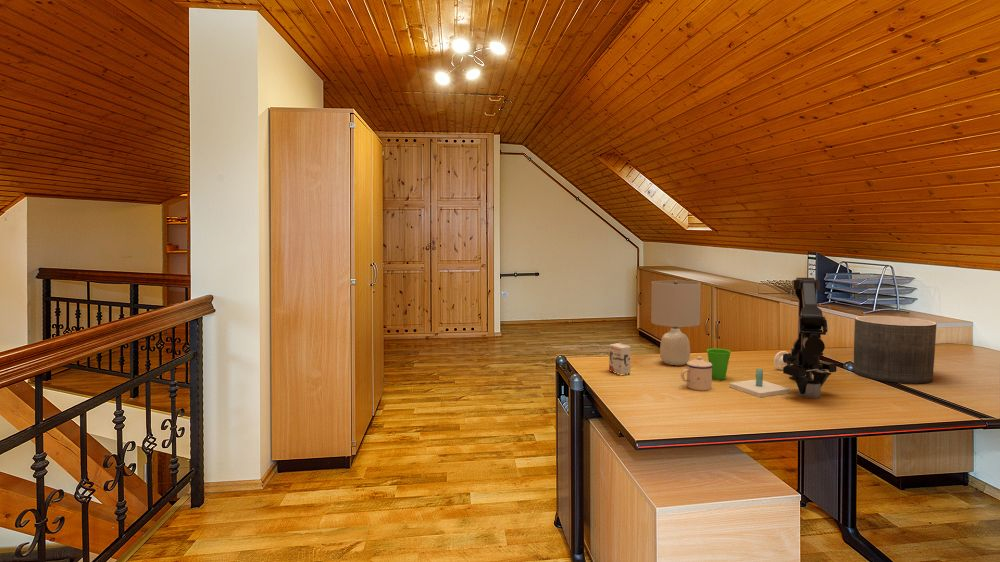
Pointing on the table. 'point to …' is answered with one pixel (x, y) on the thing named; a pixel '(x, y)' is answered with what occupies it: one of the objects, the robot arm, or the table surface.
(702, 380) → the teacup with lid
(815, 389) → the steel collar
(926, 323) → the planter
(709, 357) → the cup
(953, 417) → the table surface
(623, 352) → the ink box
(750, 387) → the post block
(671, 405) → the table surface
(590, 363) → the table surface
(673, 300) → the lamp
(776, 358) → the ring around a ball
